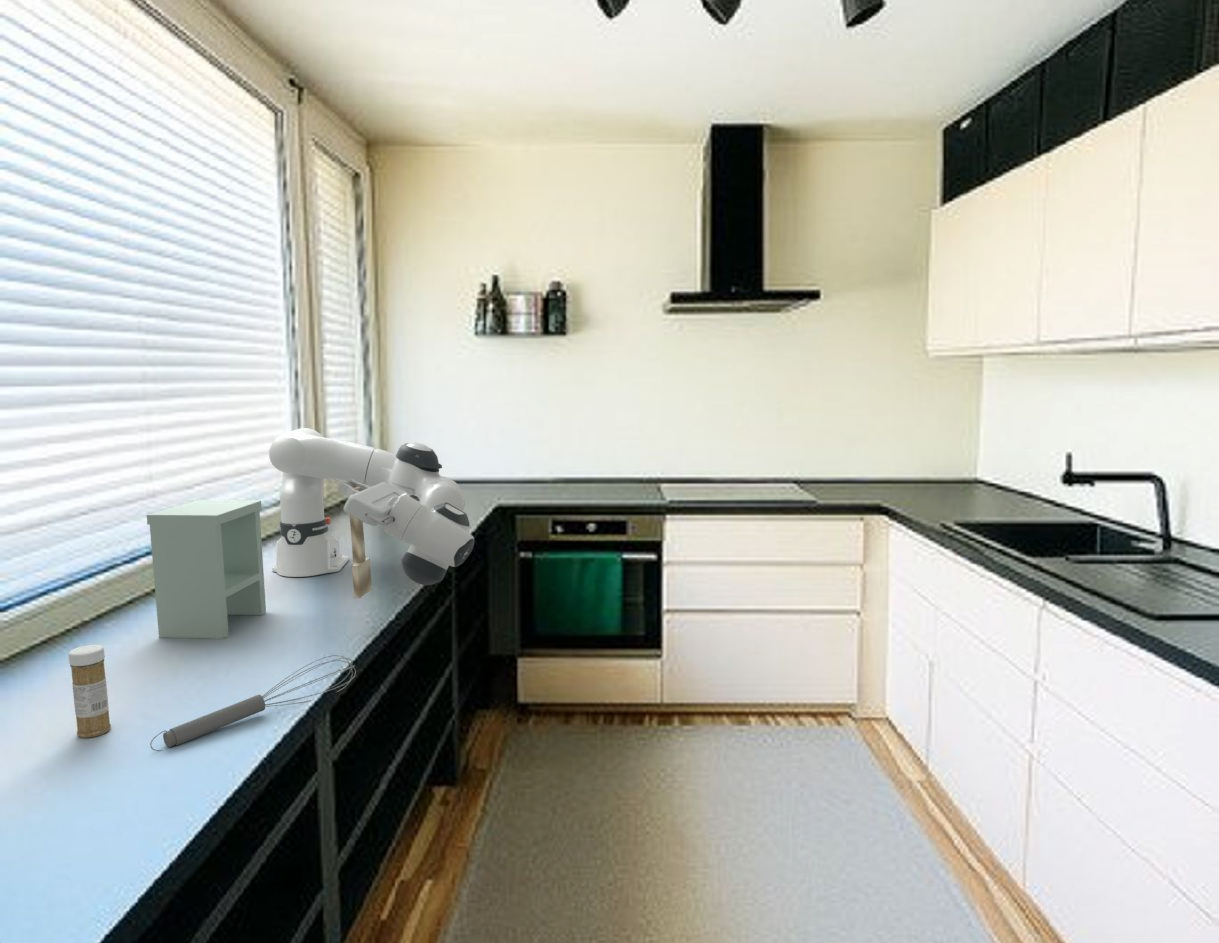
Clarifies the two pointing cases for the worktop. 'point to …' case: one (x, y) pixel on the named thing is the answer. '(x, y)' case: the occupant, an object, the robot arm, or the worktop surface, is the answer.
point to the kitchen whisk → (234, 712)
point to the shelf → (206, 566)
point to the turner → (359, 558)
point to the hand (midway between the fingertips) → (344, 483)
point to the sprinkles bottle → (90, 690)
